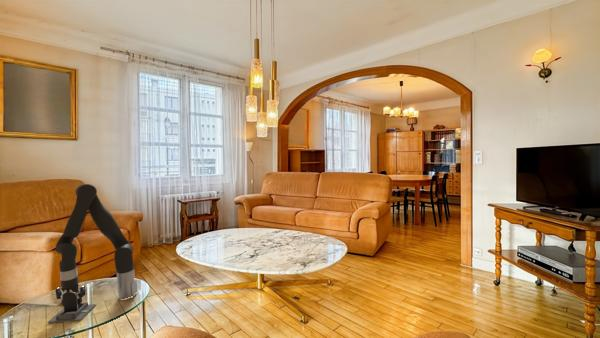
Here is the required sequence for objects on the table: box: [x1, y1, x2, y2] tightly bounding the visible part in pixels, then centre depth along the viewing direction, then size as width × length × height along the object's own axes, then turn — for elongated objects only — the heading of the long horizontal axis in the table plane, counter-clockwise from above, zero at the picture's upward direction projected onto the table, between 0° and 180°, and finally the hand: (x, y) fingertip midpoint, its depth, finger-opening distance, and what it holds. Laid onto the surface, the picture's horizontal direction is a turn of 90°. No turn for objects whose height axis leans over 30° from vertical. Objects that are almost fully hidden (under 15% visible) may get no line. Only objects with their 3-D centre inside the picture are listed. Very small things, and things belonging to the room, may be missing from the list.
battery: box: [62, 291, 79, 312], centre depth 157 cm, size 7×4×11 cm, turn 98°
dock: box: [47, 301, 97, 324], centre depth 158 cm, size 16×14×3 cm
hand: (72, 304), depth 158 cm, fingers closed on battery, 7 cm apart
